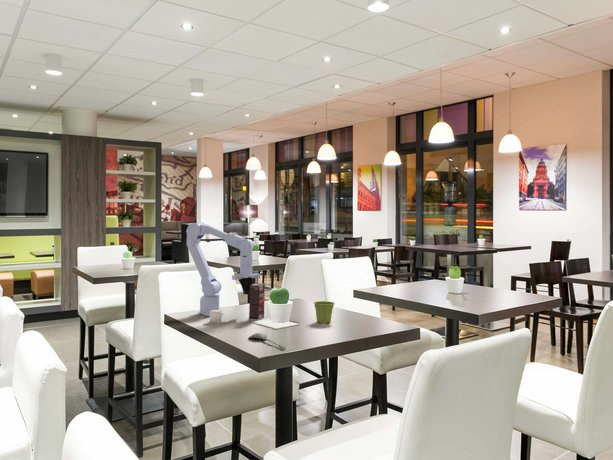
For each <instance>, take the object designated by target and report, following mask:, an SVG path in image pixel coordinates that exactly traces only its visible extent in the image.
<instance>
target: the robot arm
mask: <svg viewBox="0 0 613 460" xmlns="http://www.w3.org/2000/svg"><path fill="white" fill-rule="evenodd" d="M205 235H211V236H213V237H216V238H219V239H221V240H224V242H225V244H227V245H229V246H230V247H234V248H236V249H237V250H239V251H240V252H239V253H240V254H239V255H240V256H239V261H240V262H239V274H235V275H234V274H232V275H231V280H232V281H237V280H238V282H239V284H240V286H241V288H242V293H243V295H249V294H250V285H253V282H254V279H256V278H257V279H258V278H260V277H261V274H260V273H255V272H254V273H253V259H254V258H253V249H254V247H255V242H254V241H253V240H251V238H246V237H245V236H240V235H239V234H237V232H229V233H227V232H225V231H223V230H221V229H218V228H216V227H215V226H212V225H210V224H206V223H204V222H198V223H197V222H192V223H189V225H188V226H187V229H186V246H187V249H188V250H189V253H190V255H191V257H192V260H193V263H194V264H195V266H196V269H197V271H198V274H199V276H200V278H201V279H200V284H201V292H202V294H203V295H201V297H200V300H199V311H198V314H199V315H203V316H206V317H210V311H211V310H220V292H221V289H222V284H221V282H220V281H219V280H218V279H217V277H216V276H215V275H214V274H213V273H212V271H211V268H210V267H209V264H208V260H206V257H205V254H204V253H203V250H202V248H201V246H200V242H201V240H202V239H203V237H204V236H205ZM222 315H224V313H223V312H222Z"/></svg>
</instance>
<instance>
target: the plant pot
mask: <svg viewBox="0 0 613 460" xmlns="http://www.w3.org/2000/svg"><path fill="white" fill-rule="evenodd" d="M313 304H314V308H315V316H316V317H315V318H316V322H317V323H319V324H327V323H328V324H330V323H331V322H332V315H333V309H334V305H335V302H333V301H325V300H319V301H314V302H313Z"/></svg>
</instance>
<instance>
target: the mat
mask: <svg viewBox="0 0 613 460" xmlns="http://www.w3.org/2000/svg"><path fill="white" fill-rule="evenodd" d="M287 321H288V320H287ZM250 323H252V324H254V325H259V326H262V327H266V328H270V329H273V330H281V329H286V328H291V327H296V326H300V323H296V322H292V321H288V322H285V323H273V322H272V321H271V320H270V318H266V319H265V318H263V319H261V320H258V321H251V322H250Z"/></svg>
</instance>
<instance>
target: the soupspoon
mask: <svg viewBox="0 0 613 460" xmlns="http://www.w3.org/2000/svg"><path fill="white" fill-rule="evenodd" d="M267 337H268V335H267V334H264V333H261V332H259V333H258V332H257V333H253V334H251V335H250V336H249V337H248V339H255V338H256V339H260V340H261V339H262V340H264V341H268V342H270V343H272V344H275V345H276V346H278V348H280V350H281V351H284V350H286V346H284V345H281V344H279V343H278V342H275V341H273V340H271V339H269V338H267Z"/></svg>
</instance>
